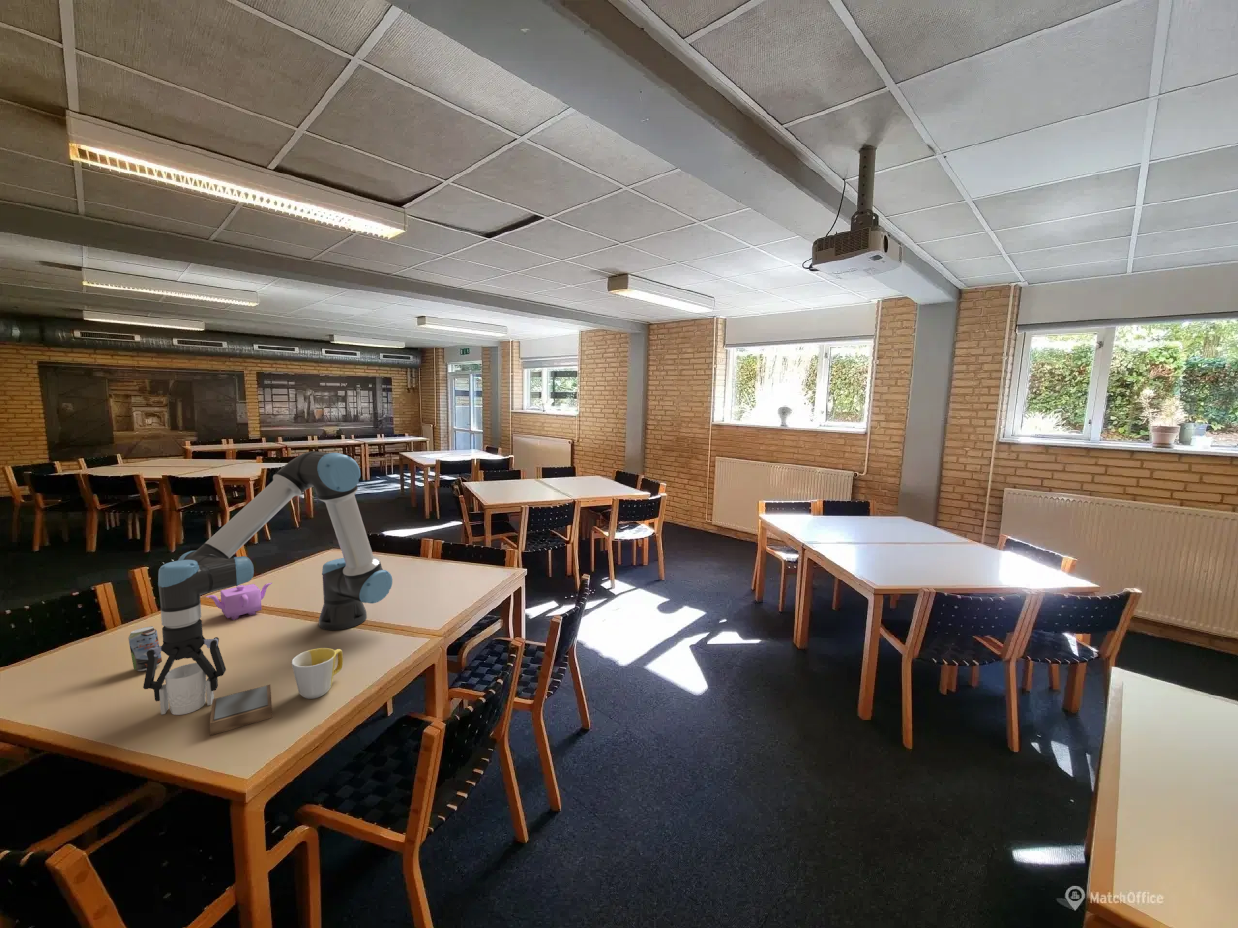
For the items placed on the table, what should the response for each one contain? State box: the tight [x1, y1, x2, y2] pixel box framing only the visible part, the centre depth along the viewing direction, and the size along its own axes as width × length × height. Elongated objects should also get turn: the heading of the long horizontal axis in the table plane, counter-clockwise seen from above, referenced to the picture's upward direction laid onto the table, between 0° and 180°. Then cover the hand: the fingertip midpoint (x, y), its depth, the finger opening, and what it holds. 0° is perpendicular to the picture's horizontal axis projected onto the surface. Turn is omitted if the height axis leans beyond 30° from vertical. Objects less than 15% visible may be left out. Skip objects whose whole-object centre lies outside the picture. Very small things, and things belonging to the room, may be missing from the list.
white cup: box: [164, 662, 207, 716], centre depth 126 cm, size 8×8×10 cm
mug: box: [291, 647, 344, 700], centre depth 135 cm, size 14×10×10 cm
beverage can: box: [128, 625, 163, 672], centre depth 144 cm, size 6×7×12 cm
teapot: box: [205, 582, 273, 621], centre depth 182 cm, size 15×13×11 cm
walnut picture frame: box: [209, 684, 273, 736], centre depth 124 cm, size 12×12×3 cm
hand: (188, 706), depth 126 cm, fingers open, 8 cm apart
